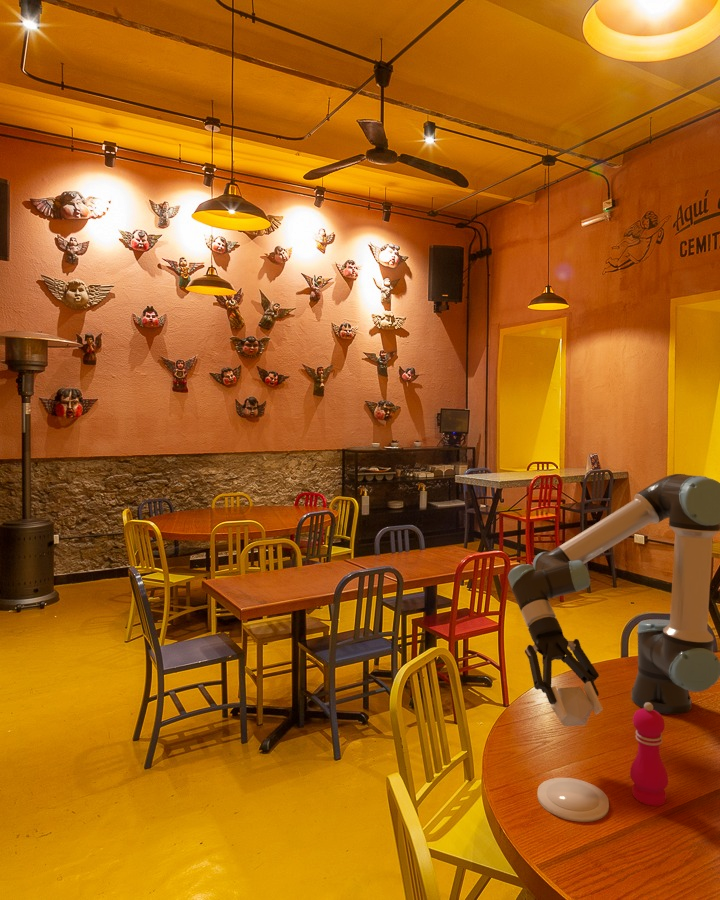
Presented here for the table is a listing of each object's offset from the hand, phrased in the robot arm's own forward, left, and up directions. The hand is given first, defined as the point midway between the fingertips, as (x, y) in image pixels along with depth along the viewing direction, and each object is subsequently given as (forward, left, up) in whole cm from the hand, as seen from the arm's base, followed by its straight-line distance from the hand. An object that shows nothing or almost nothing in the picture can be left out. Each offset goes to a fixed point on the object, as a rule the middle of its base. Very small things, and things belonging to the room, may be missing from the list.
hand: (581, 714), depth 139 cm
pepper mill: (-8, +12, -13) cm, 20 cm away
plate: (+8, +9, -13) cm, 18 cm away
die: (0, -4, -4) cm, 6 cm away
